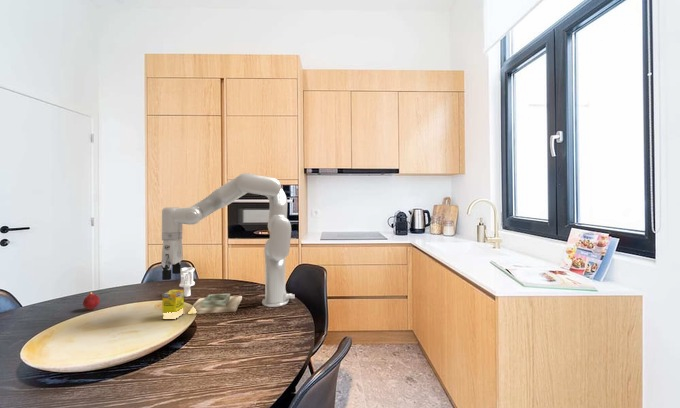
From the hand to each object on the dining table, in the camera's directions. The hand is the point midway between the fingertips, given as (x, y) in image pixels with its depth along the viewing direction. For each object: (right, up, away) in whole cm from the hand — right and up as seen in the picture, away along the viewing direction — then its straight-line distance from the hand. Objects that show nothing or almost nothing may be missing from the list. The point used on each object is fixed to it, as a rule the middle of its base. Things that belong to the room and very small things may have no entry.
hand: (171, 276), depth 120 cm
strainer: (-8, -17, +27) cm, 33 cm away
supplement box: (0, -18, 0) cm, 18 cm away
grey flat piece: (+14, -17, +13) cm, 25 cm away
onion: (-42, -18, +8) cm, 46 cm away
